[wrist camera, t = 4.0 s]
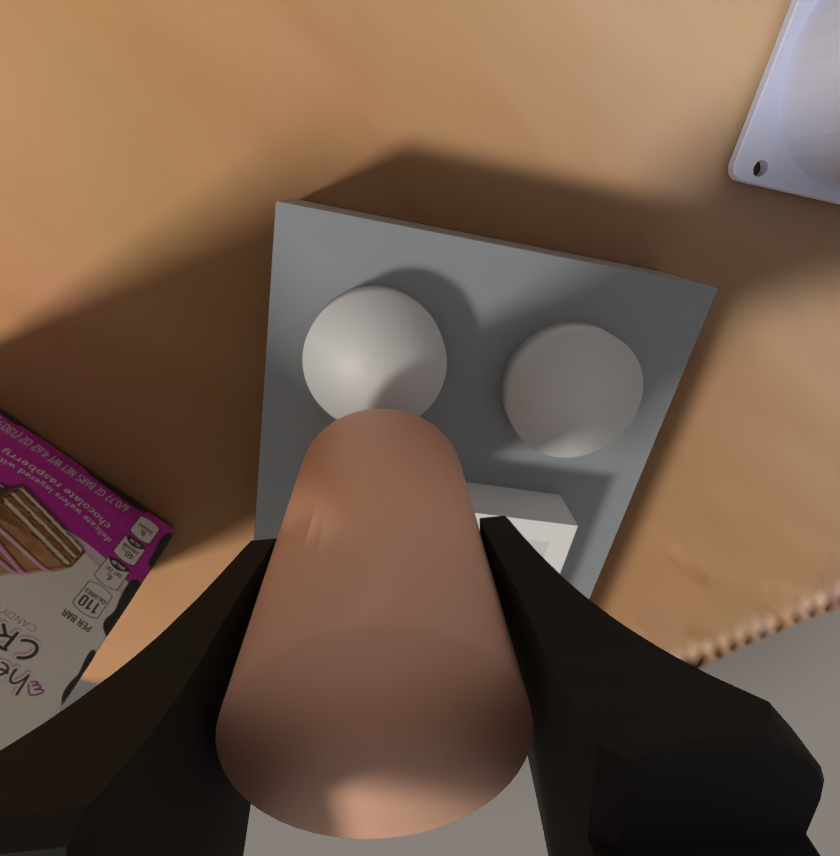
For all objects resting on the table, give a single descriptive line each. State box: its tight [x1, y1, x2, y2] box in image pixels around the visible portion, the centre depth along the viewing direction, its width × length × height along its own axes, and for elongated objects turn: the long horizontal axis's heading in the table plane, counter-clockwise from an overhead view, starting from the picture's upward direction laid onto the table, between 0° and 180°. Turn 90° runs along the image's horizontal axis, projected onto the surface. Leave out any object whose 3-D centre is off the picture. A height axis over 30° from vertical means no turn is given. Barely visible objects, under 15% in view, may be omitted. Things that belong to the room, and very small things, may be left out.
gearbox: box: [254, 200, 718, 599], centre depth 20 cm, size 14×20×6 cm
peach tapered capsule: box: [216, 408, 533, 839], centre depth 12 cm, size 5×7×8 cm
